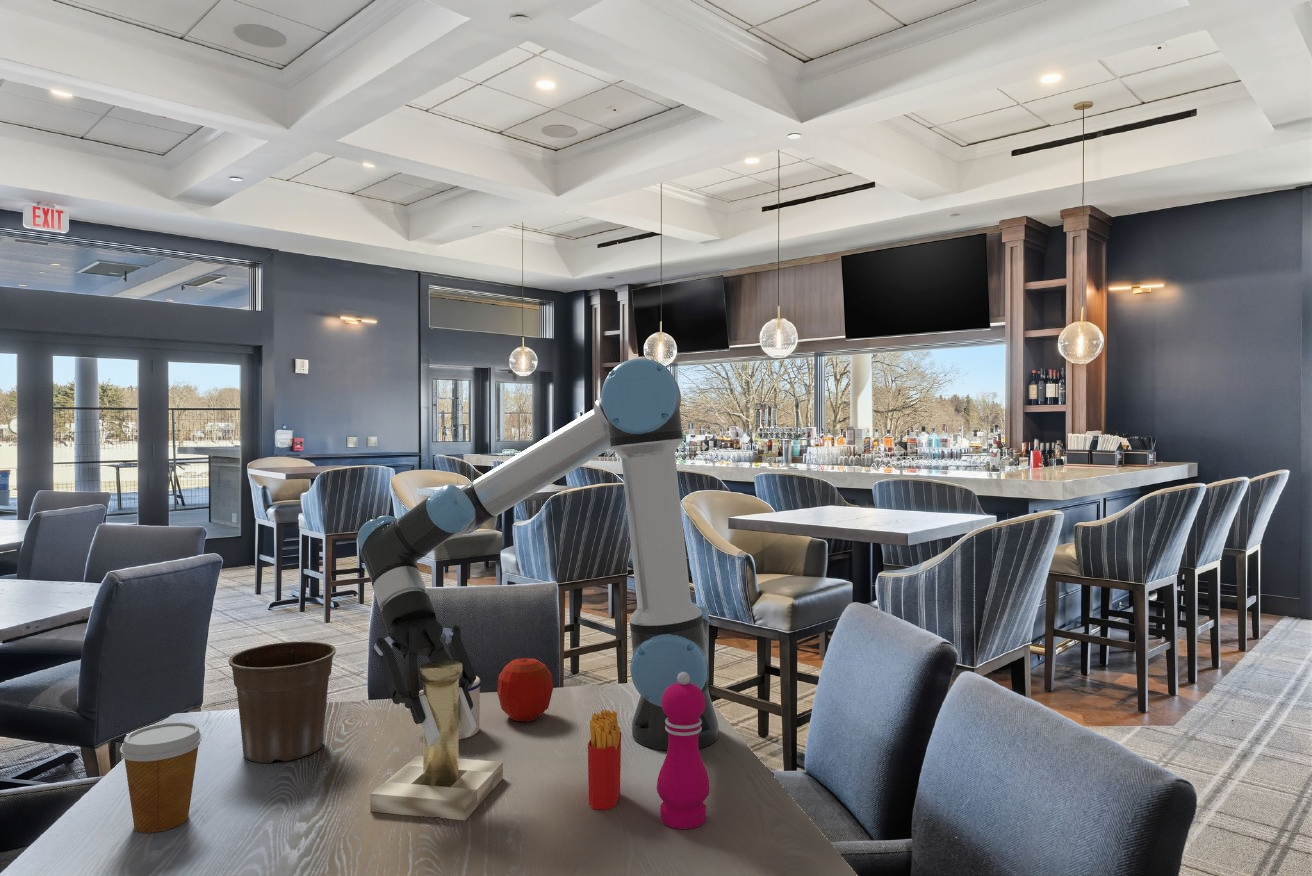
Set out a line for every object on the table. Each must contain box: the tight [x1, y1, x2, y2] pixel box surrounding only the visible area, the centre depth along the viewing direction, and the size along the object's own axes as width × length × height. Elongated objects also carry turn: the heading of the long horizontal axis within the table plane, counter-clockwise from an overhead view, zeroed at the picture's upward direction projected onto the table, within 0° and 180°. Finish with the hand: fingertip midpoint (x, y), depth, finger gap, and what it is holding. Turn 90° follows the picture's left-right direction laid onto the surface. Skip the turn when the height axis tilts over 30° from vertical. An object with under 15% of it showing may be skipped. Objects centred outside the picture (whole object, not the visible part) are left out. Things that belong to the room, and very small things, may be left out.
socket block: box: [369, 755, 504, 821], centre depth 119 cm, size 14×14×2 cm
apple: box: [496, 655, 554, 723], centre depth 152 cm, size 10×10×12 cm
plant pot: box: [227, 641, 337, 764], centre depth 135 cm, size 16×16×16 cm
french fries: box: [587, 709, 622, 811], centre depth 117 cm, size 8×4×12 cm, turn 170°
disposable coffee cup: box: [119, 721, 203, 834], centre depth 110 cm, size 10×10×12 cm
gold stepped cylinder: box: [419, 660, 462, 787], centre depth 118 cm, size 6×6×16 cm
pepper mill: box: [656, 672, 711, 830], centre depth 111 cm, size 7×7×20 cm
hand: (452, 736), depth 115 cm, fingers closed on gold stepped cylinder, 5 cm apart
